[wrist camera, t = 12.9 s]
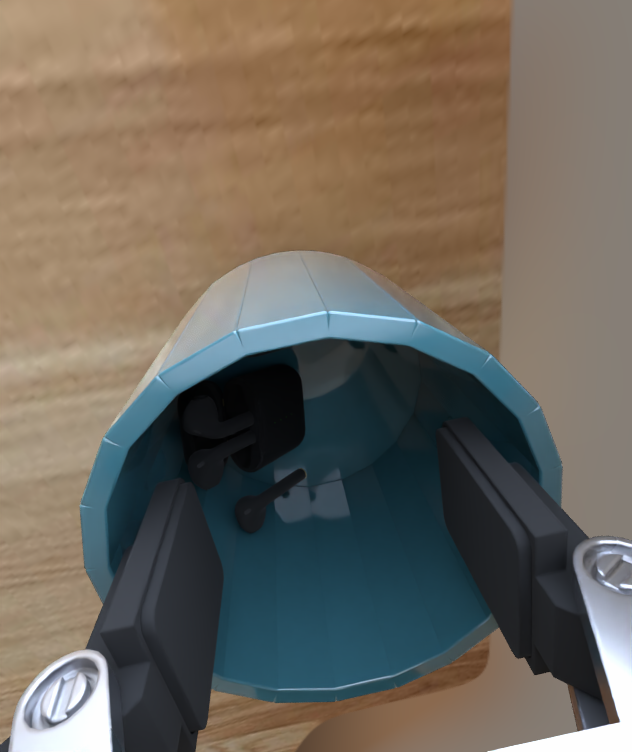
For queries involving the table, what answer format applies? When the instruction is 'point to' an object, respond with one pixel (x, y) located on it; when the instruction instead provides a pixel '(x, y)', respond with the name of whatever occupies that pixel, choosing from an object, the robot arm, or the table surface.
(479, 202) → the table surface
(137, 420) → the tumbler
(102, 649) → the robot arm
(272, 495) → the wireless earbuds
